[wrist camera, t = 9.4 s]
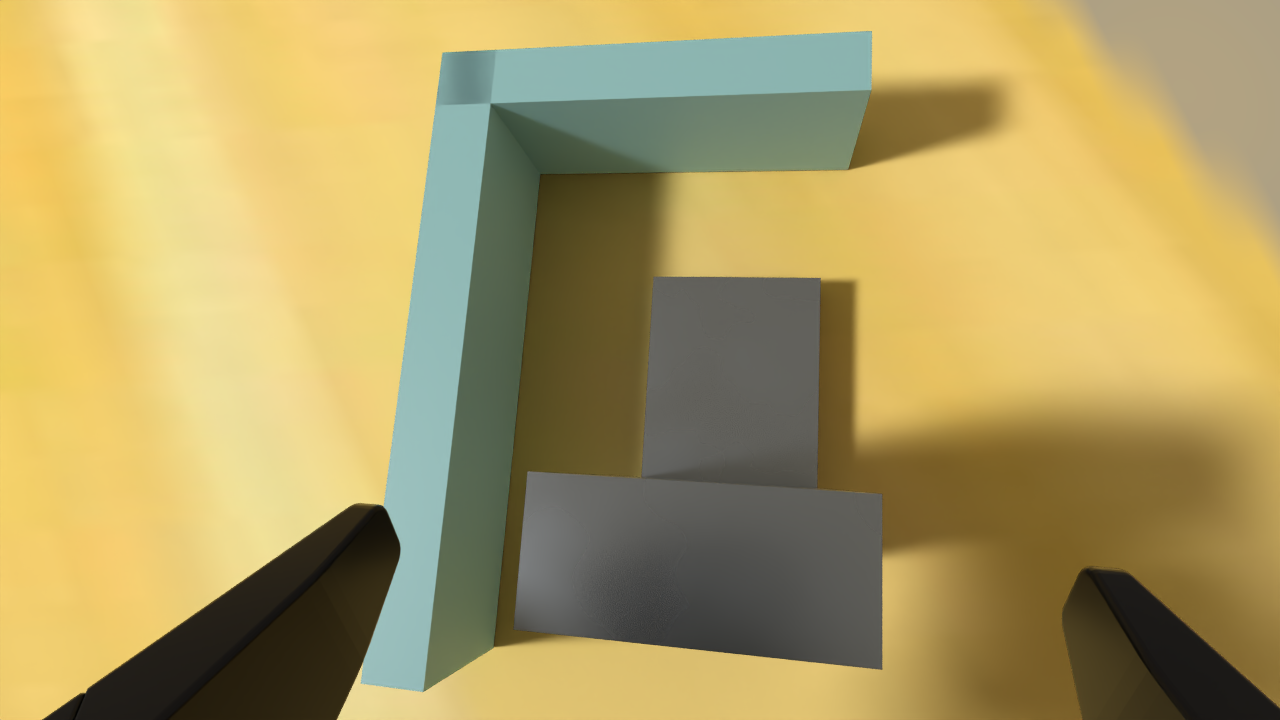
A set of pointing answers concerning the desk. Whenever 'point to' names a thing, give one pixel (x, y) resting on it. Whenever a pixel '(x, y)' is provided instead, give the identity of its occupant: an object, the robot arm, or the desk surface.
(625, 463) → the desk surface
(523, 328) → the teal corner wall
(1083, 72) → the desk surface
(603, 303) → the desk surface
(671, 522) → the grey l-shaped block
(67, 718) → the robot arm
